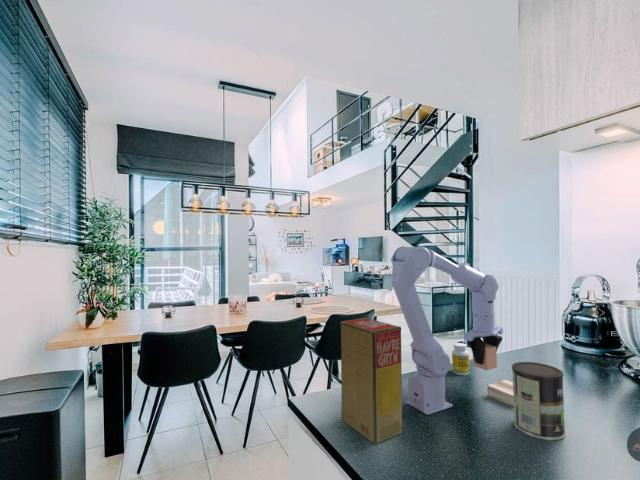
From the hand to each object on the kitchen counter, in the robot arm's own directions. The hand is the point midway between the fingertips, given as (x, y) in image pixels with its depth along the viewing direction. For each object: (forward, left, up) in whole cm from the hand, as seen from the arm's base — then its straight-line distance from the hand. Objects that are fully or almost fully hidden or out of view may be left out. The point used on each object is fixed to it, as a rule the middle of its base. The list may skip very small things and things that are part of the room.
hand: (484, 361), depth 99 cm
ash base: (+4, -5, -10) cm, 11 cm away
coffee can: (-6, -18, -10) cm, 21 cm away
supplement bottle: (+8, +15, -10) cm, 20 cm away
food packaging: (-39, +2, -10) cm, 41 cm away
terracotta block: (0, 0, -1) cm, 1 cm away
